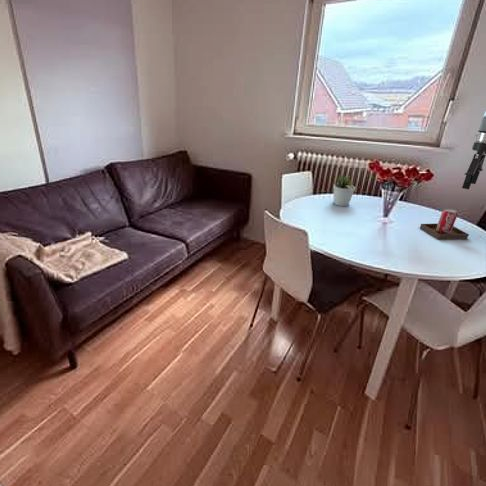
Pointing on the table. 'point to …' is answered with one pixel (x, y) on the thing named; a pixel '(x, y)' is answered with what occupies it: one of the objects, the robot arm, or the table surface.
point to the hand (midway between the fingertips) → (468, 186)
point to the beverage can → (446, 221)
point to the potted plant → (343, 191)
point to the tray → (433, 232)
